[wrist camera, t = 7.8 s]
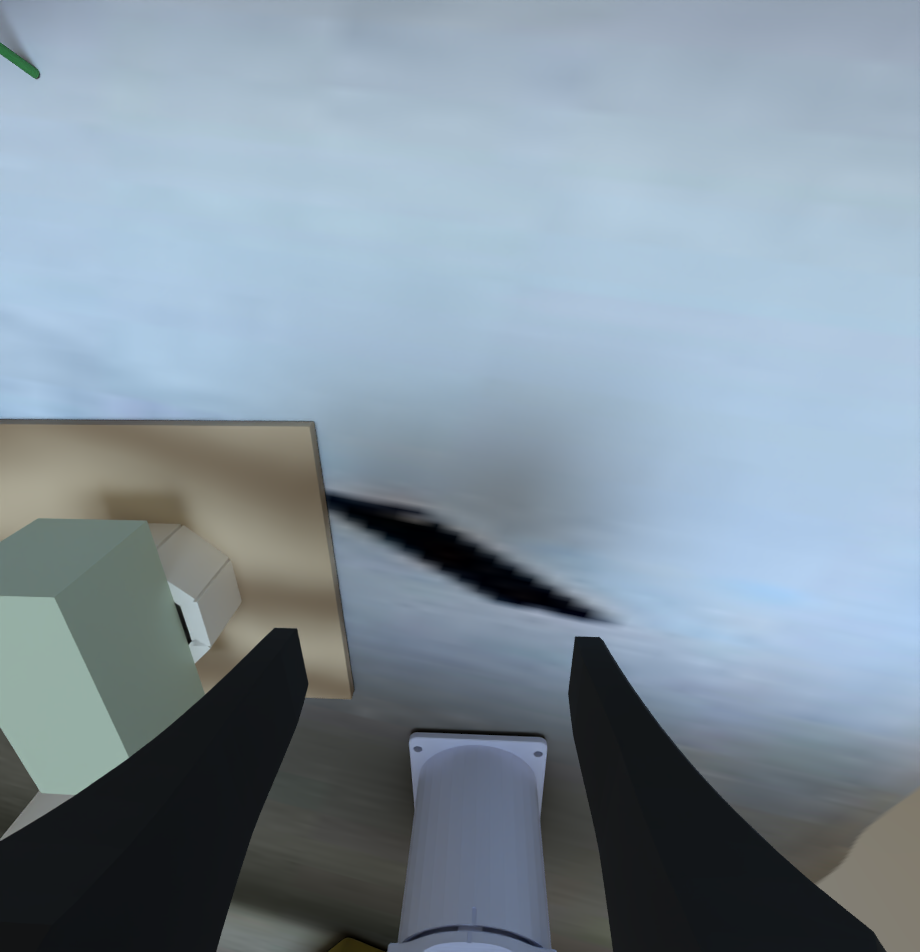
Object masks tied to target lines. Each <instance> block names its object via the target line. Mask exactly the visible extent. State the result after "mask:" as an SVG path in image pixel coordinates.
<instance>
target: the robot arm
mask: <svg viewBox="0 0 920 952" xmlns="http://www.w3.org/2000/svg"><path fill="white" fill-rule="evenodd" d="M308 685H309V684H308V679H307V674H306V669H305V664H304V659H303V654H302V649H301V645H300V640H299V635H298V630H297V628H274V629H273V630H272V631H270V632H269V633H268V634H267V635H266V636H265V637H264V638H263V639H262V640H261V641H260V642H259V643H258V644H257V645H256V646H255V647H254V648H253V649H252V650H251V651H250V652H249V653H248V654H247V655H246V656H245V657H244V658H243V659H242V660H241V661H240V662H239V663H238V664H237V665H236V666H235V667H234V668H233V669H232V670H231V671H230V672H228V673H227V674H226V675H225V676H224V677H223V678H222V679H221V680H220V681H219V682H218V683H217V684H216V685H215V686H214V687H213V688H212V689H211V690H209V691H208V692H207V693H206V694H205V695H204V696H203V697H202V698H201V699H200V700H198V701H197V702H196V703H195V704H194V705H193V706H192V707H191V708H189V709H188V710H187V711H186V712H185V713H184V714H183V715H181V716H180V717H179V718H178V719H177V720H176V721H175V722H173V723H172V724H171V725H170V726H169V727H167V728H166V729H165V730H164V731H163V732H161V733H160V734H159V735H158V736H156V737H155V738H154V739H153V740H151V741H150V742H149V743H147V744H146V745H145V746H144V747H142V748H141V749H140V750H138V751H137V752H136V753H134V754H133V755H132V756H131V757H129V758H128V759H126V760H125V761H124V762H122V763H121V764H120V765H118V766H117V767H115V768H114V769H112V770H111V771H109V772H108V773H107V774H105V775H104V776H102V777H101V778H99V779H98V780H96V781H95V782H94V783H92V784H91V785H89V786H88V787H86V788H85V789H83V790H82V791H80V792H79V793H78V794H76V795H75V796H73V797H72V798H70V799H68V800H67V801H65V802H64V803H62V804H61V805H59V806H57V807H56V808H54V809H53V810H51V811H50V812H48V813H46V814H45V815H43V816H41V817H40V818H38V819H36V820H35V821H33V822H32V823H30V824H28V825H27V826H25V827H23V828H22V829H20V830H18V831H17V832H15V833H13V834H11V835H10V836H8V837H6V838H5V839H3V840H1V841H0V952H216V950H217V947H218V943H219V940H220V936H221V932H222V929H223V926H224V922H225V919H226V916H227V912H228V909H229V906H230V903H231V899H232V896H233V893H234V889H235V886H236V883H237V879H238V876H239V873H240V870H241V867H242V864H243V861H244V858H245V855H246V851H247V848H248V845H249V842H250V839H251V836H252V833H253V831H254V828H255V825H256V823H257V820H258V817H259V815H260V812H261V810H262V808H263V805H264V803H265V801H266V798H267V796H268V793H269V791H270V789H271V786H272V784H273V782H274V779H275V777H276V774H277V772H278V770H279V767H280V765H281V763H282V760H283V758H284V755H285V753H286V751H287V748H288V746H289V743H290V741H291V738H292V736H293V734H294V731H295V729H296V726H297V723H298V720H299V717H300V713H301V710H302V707H303V703H304V700H305V696H306V692H307V689H308ZM568 696H569V704H570V713H571V721H572V729H573V736H574V741H575V745H576V750H577V754H578V758H579V763H580V767H581V772H582V776H583V780H584V785H585V789H586V793H587V798H588V802H589V806H590V811H591V815H592V819H593V824H594V828H595V833H596V838H597V843H598V848H599V853H600V860H601V867H602V874H603V881H604V888H605V895H606V901H607V909H608V916H609V924H610V931H611V938H612V946H613V952H886V951H885V949H884V948H883V946H882V945H881V943H880V942H879V940H878V938H877V937H876V935H875V933H874V932H873V931H872V930H871V929H869V928H868V927H867V926H866V925H864V924H863V923H862V922H861V921H859V920H858V919H857V918H856V917H854V916H853V915H852V914H851V913H850V912H848V911H846V909H844V908H843V907H842V906H841V905H839V904H838V903H837V902H836V901H835V900H833V899H832V898H831V897H829V896H828V895H827V894H826V893H825V892H824V891H822V890H821V889H820V888H818V887H817V886H816V885H815V884H814V883H812V882H811V881H810V880H809V879H808V878H807V877H805V876H804V875H803V874H802V873H801V872H800V871H799V870H798V869H796V868H795V867H794V866H793V865H792V864H791V863H790V862H789V861H787V860H786V859H785V858H784V857H783V856H782V855H781V854H780V853H778V852H777V851H776V850H775V849H774V848H773V847H772V846H771V845H770V844H769V843H768V842H767V841H766V840H765V839H764V838H763V837H762V836H761V835H760V834H759V833H758V832H756V831H755V830H754V829H753V828H752V827H751V826H750V825H749V824H748V823H747V822H746V821H745V820H744V819H743V818H742V817H741V816H740V815H739V814H738V813H737V812H736V811H735V810H734V809H733V808H732V807H731V806H730V805H729V804H728V803H727V802H726V801H725V800H724V799H723V798H722V797H721V796H720V795H719V794H718V793H717V792H716V791H715V790H714V788H713V787H712V786H711V785H710V784H709V783H708V782H707V781H706V780H705V779H704V778H703V776H702V775H701V774H700V773H699V772H698V771H697V770H696V769H695V767H694V766H693V765H692V764H691V763H690V762H689V761H688V759H687V758H686V757H685V756H684V755H683V753H682V752H681V751H680V750H679V749H678V747H677V746H676V745H675V744H674V742H673V741H672V740H671V739H670V737H669V736H668V735H667V734H666V732H665V731H664V730H663V729H662V727H661V726H660V725H659V723H658V722H657V721H656V719H655V718H654V717H653V715H652V714H651V713H650V711H649V710H648V709H647V707H646V706H645V704H644V703H643V702H642V700H641V699H640V697H639V696H638V695H637V693H636V692H635V690H634V689H633V687H632V686H631V684H630V683H629V681H628V680H627V678H626V677H625V675H624V674H623V672H622V671H621V669H620V668H619V666H618V665H617V663H616V661H615V660H614V658H613V656H612V655H611V653H610V652H609V650H608V648H607V646H606V645H605V643H604V641H603V640H602V639H601V638H600V637H575V642H574V651H573V659H572V667H571V675H570V683H569V691H568ZM409 749H410V760H411V772H412V784H413V795H414V807H415V811H414V819H413V827H412V835H411V842H410V850H409V858H408V866H407V874H406V881H405V889H404V897H403V905H402V913H401V920H400V928H399V936H398V943H390V944H389V945H388V950H387V952H557V951H556V950H554V949H552V948H551V937H550V926H549V915H548V903H547V892H546V881H545V870H544V859H543V848H542V836H541V825H540V815H541V805H542V796H543V786H544V776H545V766H546V757H547V742H546V740H545V739H543V738H541V737H526V736H501V735H476V734H451V733H426V732H415V733H413V734H411V735H410V739H409Z"/></svg>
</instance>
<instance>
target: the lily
mask: <svg viewBox="0 0 920 952" xmlns="http://www.w3.org/2000/svg"><path fill="white" fill-rule="evenodd" d="M0 54H1V55H2V56H4V57H5V58H7V59H8V60H9V61H11V62H12V63H14V64H15V65H16V66H18V67H19V68H21V69H22V70H23V71H25V72H26V73H28V74H29V75H31V76H32V77H33V78H35V79H36V78H37V77H38V76H39V71H38V69H36V68H35V67H33V66H32V65H31V64H29V63H28V62H27V61H25V60H24V59H22V58H21V57H20V56H18V55H17V54H16V53H14V52H13V51H11V50H10V49H9V48H7V47H6V46H5V45H3V44H2V43H0Z"/></svg>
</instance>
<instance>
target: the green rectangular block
mask: <svg viewBox="0 0 920 952" xmlns="http://www.w3.org/2000/svg"><path fill="white" fill-rule="evenodd" d="M204 695H205V693H204V690H203V687H202V684H201V681H200V678H199V675H198V672H197V669H196V666H195V663H194V660H193V657H192V654H191V651H190V648H189V645H188V642H187V639H186V636H185V633H184V630H183V627H182V624H181V621H180V618H179V615H178V612H177V609H176V606H175V603H174V600H173V597H172V594H171V591H170V588H169V585H168V582H167V579H166V576H165V573H164V570H163V567H162V564H161V561H160V558H159V555H158V552H157V549H156V546H155V543H154V540H153V537H152V534H151V531H150V528H149V525H148V522H147V521H143V520H97V519H51V518H38V519H36V520H34V521H33V522H31V523H30V524H28V525H26V526H25V527H23V528H22V529H20V530H18V531H17V532H15V533H14V534H12V535H10V536H9V537H7V538H6V539H4V540H2V541H1V542H0V727H1V729H2V731H3V732H4V734H5V736H6V737H7V739H8V740H9V742H10V744H11V745H12V747H13V748H14V750H15V752H16V753H17V755H18V757H19V758H20V760H21V761H22V763H23V765H24V766H25V768H26V769H27V771H28V773H29V774H30V776H31V777H32V779H33V781H34V782H35V784H36V786H37V787H38V789H39V790H40V792H41V793H47V794H67V795H76V794H78V793H79V792H80V791H82V790H83V789H85V788H86V787H88V786H89V785H91V784H92V783H94V782H95V781H96V780H98V779H99V778H101V777H102V776H104V775H105V774H107V773H108V772H109V771H111V770H112V769H114V768H115V767H117V766H118V765H120V764H121V763H122V762H124V761H125V760H126V759H128V758H129V757H131V756H132V755H133V754H134V753H136V752H137V751H138V750H140V749H141V748H142V747H144V746H145V745H146V744H147V743H149V742H150V741H151V740H153V739H154V738H155V737H156V736H158V735H159V734H160V733H161V732H163V731H164V730H165V729H166V728H167V727H169V726H170V725H171V724H172V723H173V722H175V721H176V720H177V719H178V718H179V717H180V716H181V715H183V714H184V713H185V712H186V711H187V710H188V709H189V708H191V707H192V706H193V705H194V704H195V703H196V702H197V701H198V700H200V699H201V698H202V697H203V696H204Z"/></svg>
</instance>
